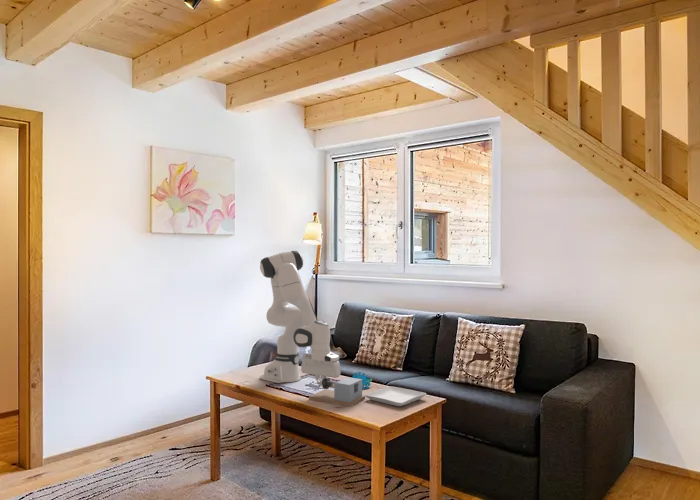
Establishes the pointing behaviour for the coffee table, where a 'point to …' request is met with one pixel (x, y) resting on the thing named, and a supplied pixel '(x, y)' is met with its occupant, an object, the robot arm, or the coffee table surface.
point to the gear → (363, 380)
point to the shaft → (327, 383)
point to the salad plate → (395, 396)
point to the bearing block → (342, 393)
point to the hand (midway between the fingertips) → (320, 384)
